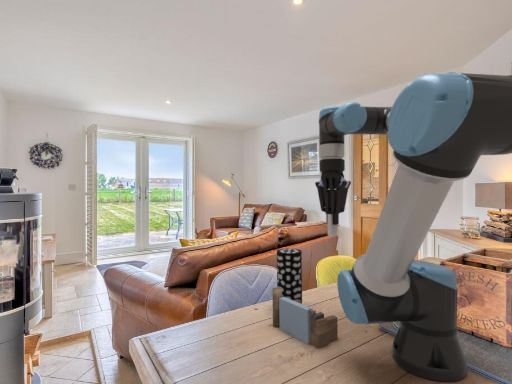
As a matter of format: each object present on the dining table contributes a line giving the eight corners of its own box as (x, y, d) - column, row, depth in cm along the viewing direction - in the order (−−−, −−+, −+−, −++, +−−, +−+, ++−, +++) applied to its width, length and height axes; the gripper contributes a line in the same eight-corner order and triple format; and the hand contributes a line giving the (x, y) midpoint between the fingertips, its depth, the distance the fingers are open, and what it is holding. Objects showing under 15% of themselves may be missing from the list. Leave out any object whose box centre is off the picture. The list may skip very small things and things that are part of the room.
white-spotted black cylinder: (301, 316, 96) (301, 254, 96) (275, 314, 97) (275, 253, 97) (302, 306, 104) (302, 248, 104) (279, 304, 106) (278, 248, 105)
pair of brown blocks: (339, 340, 81) (339, 299, 80) (309, 351, 75) (309, 308, 75) (298, 316, 95) (298, 282, 95) (271, 325, 90) (270, 288, 90)
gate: (279, 329, 87) (279, 298, 87) (284, 327, 89) (284, 296, 88) (312, 346, 77) (311, 312, 77) (317, 344, 79) (317, 310, 79)
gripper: (357, 157, 89) (357, 236, 89) (325, 161, 100) (326, 231, 100) (339, 156, 85) (339, 239, 85) (308, 160, 96) (309, 233, 96)
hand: (332, 235), depth 93 cm, fingers closed
